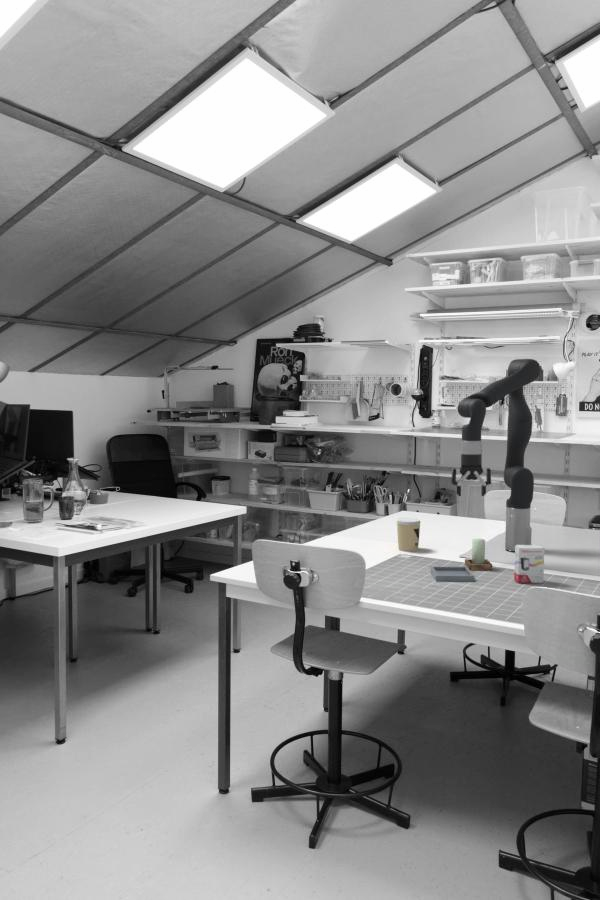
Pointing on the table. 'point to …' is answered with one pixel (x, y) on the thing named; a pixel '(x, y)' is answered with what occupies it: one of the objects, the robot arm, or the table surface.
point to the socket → (478, 565)
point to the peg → (478, 551)
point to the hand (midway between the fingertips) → (470, 495)
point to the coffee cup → (408, 534)
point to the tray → (451, 573)
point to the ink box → (529, 564)
